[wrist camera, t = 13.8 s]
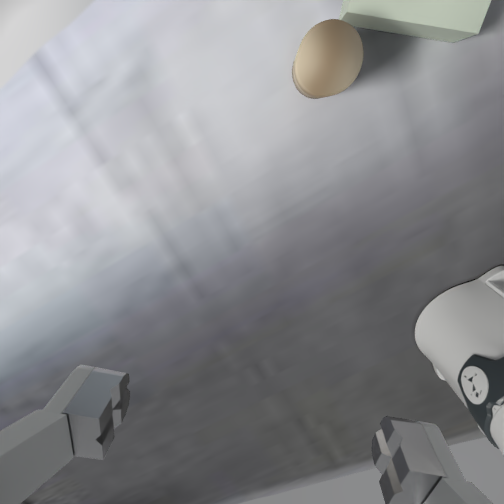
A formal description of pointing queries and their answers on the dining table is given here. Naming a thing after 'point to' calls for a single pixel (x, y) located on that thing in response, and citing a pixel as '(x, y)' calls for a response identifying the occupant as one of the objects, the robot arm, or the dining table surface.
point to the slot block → (418, 17)
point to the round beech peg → (327, 59)
